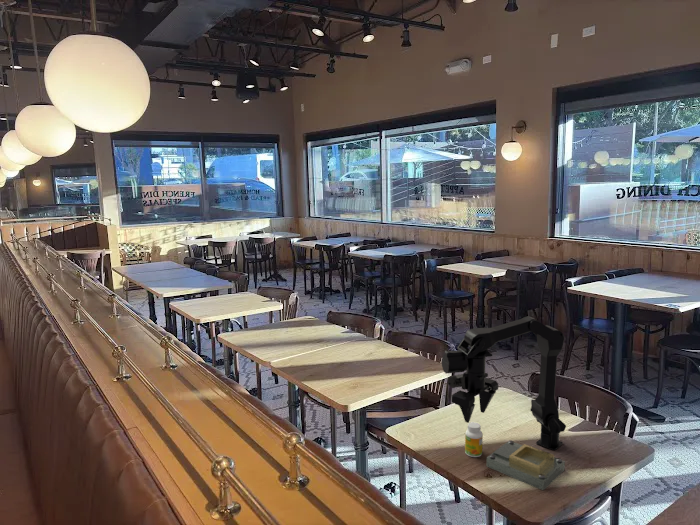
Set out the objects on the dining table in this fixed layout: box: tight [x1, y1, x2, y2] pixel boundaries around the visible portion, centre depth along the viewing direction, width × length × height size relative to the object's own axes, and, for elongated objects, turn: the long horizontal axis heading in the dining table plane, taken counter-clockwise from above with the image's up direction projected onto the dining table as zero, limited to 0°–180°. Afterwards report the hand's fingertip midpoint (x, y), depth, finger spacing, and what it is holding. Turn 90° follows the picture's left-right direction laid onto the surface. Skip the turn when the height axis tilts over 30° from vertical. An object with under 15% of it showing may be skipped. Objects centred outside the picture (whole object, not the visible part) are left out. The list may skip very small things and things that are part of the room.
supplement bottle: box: [464, 421, 484, 458], centre depth 164 cm, size 5×5×10 cm
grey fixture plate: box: [485, 440, 566, 491], centre depth 156 cm, size 14×18×5 cm
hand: (474, 417), depth 163 cm, fingers open, 9 cm apart
